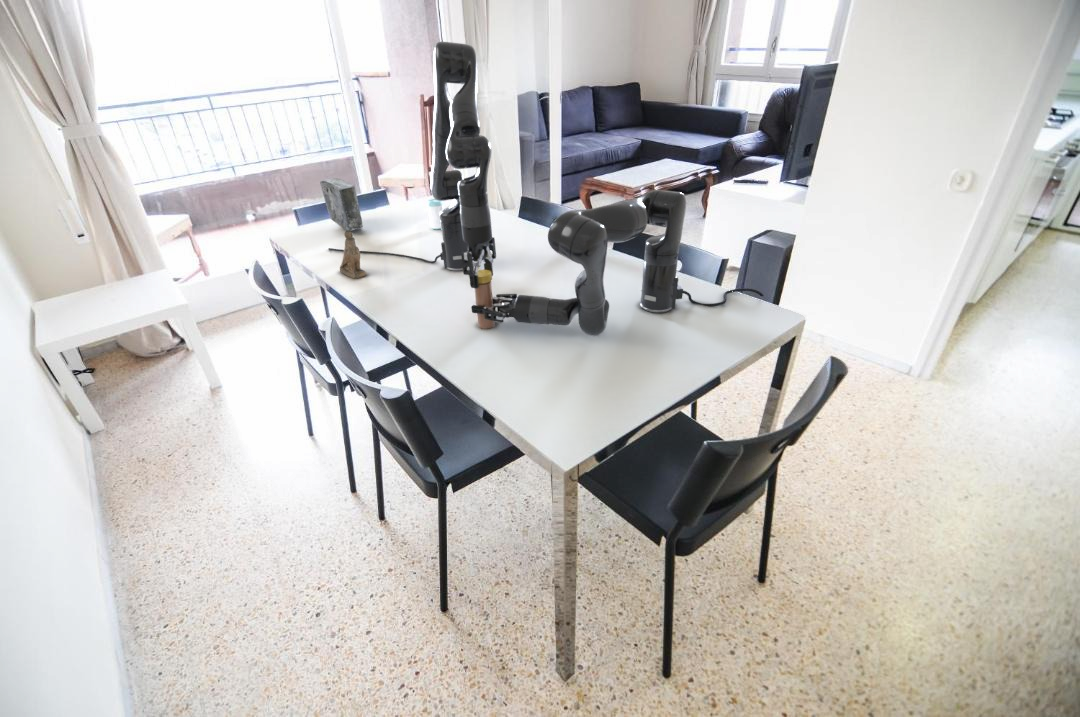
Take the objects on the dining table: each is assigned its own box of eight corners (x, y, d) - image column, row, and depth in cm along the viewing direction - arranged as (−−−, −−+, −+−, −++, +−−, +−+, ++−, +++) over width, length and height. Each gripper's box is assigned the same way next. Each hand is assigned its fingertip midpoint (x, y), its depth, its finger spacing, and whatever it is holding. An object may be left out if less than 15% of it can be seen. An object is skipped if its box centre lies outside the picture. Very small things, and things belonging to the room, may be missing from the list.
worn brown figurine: (368, 281, 178) (362, 235, 166) (353, 285, 175) (347, 238, 163) (352, 266, 184) (346, 221, 172) (338, 270, 181) (331, 224, 169)
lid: (471, 277, 136) (470, 270, 134) (490, 275, 136) (490, 268, 135) (473, 284, 131) (472, 277, 130) (493, 282, 132) (492, 275, 131)
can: (445, 229, 220) (441, 202, 214) (429, 230, 220) (425, 202, 214) (447, 224, 226) (444, 198, 220) (432, 225, 226) (428, 198, 220)
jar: (492, 319, 144) (487, 271, 136) (496, 326, 140) (492, 277, 132) (476, 323, 142) (471, 274, 134) (480, 330, 138) (475, 280, 131)
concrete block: (368, 232, 220) (358, 186, 209) (348, 237, 216) (336, 189, 205) (349, 220, 239) (338, 176, 228) (330, 223, 234) (319, 179, 224)
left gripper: (476, 213, 132) (482, 271, 141) (448, 228, 121) (456, 290, 130) (501, 215, 130) (506, 274, 138) (475, 231, 119) (481, 294, 127)
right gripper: (540, 286, 138) (483, 282, 142) (526, 308, 126) (464, 303, 131) (541, 310, 142) (485, 306, 146) (527, 334, 130) (467, 328, 134)
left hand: (482, 281), depth 134 cm, fingers open, 7 cm apart
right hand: (475, 304), depth 138 cm, fingers closed on jar, 4 cm apart
